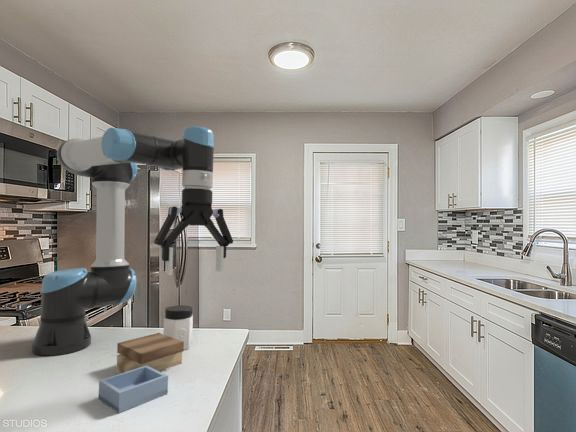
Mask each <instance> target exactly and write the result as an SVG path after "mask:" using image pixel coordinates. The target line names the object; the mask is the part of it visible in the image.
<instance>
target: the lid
mask: <svg viewBox="0 0 576 432" xmlns="http://www.w3.org/2000/svg"><path fill="white" fill-rule="evenodd" d="M163 334H164V333H160V332H156V333H153V334H149V335H145V336H142V337H137V338H132V339H129V340H125V341H120V342H117V344H116V345H117V346H116V347H117V349H116V350H117V352H116V353H117V354H118V355H123V356H125V357H127V358H129V359H131V360H133V361H135V362H137V363H139V364H144V363H147V362H150V361H154V360H157V359H160V358H163V357H166V356H170V355H173V354H176V353H179V352H182V353H183V352H184V351H185V350H184V342H183V341H180V340H177V339H175V338H172V337H169V336H166V335H163Z"/></svg>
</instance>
